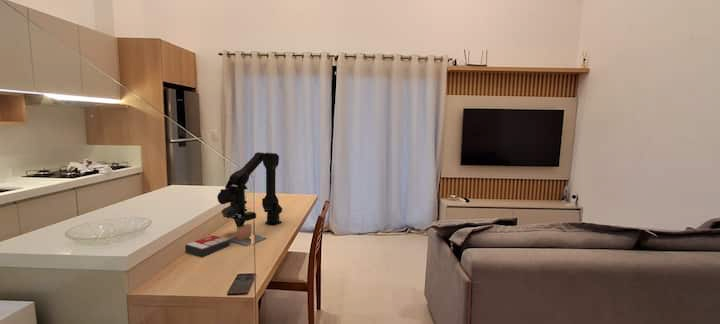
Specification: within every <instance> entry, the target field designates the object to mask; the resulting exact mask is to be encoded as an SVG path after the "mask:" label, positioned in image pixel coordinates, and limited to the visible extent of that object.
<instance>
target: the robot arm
mask: <svg viewBox="0 0 720 324" xmlns="http://www.w3.org/2000/svg"><path fill="white" fill-rule="evenodd" d="M279 162H280V156H279V154H278V153H276V152H275V153H274V152H261V151H260V152H255V153H254V155H253V157H251V158H250V160H249V161H247V162H246V163H245V165H244V166H243V167H242V168H241V169H238V170H236V171H235V172H233V173H231V174H230V176H229V179H228V181H227V183H226V184H225V187H224V188H222V189H220V191H219V193H218V194H217V197H216V198H217V201H218V203H219V204H220V205H226V204H228V203H229V206H227V207H225V208H223V209H222V210H221V214H222V217H223V218H227V219H232V220H233V221H234V222H235V225H236V228H237V227H239V226H242V225H245V224H246V222H247V221H250V220H255V219H257V213H256V212H253V211H248V209H247V208H246V204H247V203H248V201H247V200H245V199H246V196H245V195H246V194H245V192H246V190H248V189H249V188H248V187H247V186H246V184H247V183H248V182H249V179H250V176H251V174H252V173H253V172H254V171H255V170H256V169H257V168H258V167H259V165H260V164H261V163H263V166H264V167H265V187H266V188H265V193H266V194H265V196H264V198H262V199H261V200H262V201H261V202H262V203H261V207H262V208H263V211H264V213H266V221H265V222H264V223H265V224H267V225H271V226H275V225H278V224H280V223H282V221H281V220H280V214H282V212H283V207H282V206H281V205H280V203H279V198H278V196H277V195H276V177H277V175H276V169H277V167H278V166H279V164H280V163H279Z"/></svg>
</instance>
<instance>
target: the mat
mask: <svg viewBox="0 0 720 324" xmlns="http://www.w3.org/2000/svg"><path fill="white" fill-rule="evenodd" d="M254 234H255V233H254ZM266 239H267V237H265V236H262V235H258V234H255V244H257V243H260V242H262V241H265V240H266ZM228 240H230V242H232V243H235V244H237V245H240V246H245V247H246V246H247V247H249V246H251V245H250V244H251V239H250V238H249V237H247V238H244V239H242V240H238V239H237V236H235V237H232V238H230V239H229V238H228ZM248 245H249V246H248Z"/></svg>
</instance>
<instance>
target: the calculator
mask: <svg viewBox="0 0 720 324" xmlns="http://www.w3.org/2000/svg"><path fill="white" fill-rule="evenodd" d="M230 242H231V241H230V240H229V238H225V237H220V236H216V235H210V236H207V237H204V238H202V239H197V240H195V241H192V242H190V243H186V244H185V247H184V248H185V249H184V251H185V252H186V254H189V255H193V256H196V257H199V258H204V257H206V256H209V255H211V254H213V253H214V252H215V253H216V252H218V251H221V250H224V249H226V248H228V247H230V244H231V243H230ZM185 252H184V253H185Z"/></svg>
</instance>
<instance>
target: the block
mask: <svg viewBox="0 0 720 324" xmlns="http://www.w3.org/2000/svg"><path fill="white" fill-rule="evenodd" d="M251 233H252V224H251V223H245V224H244V225H242V226H239V227H237V226H236V237H237V239H238V240H242V239H244V238H247V237H250V236H251Z"/></svg>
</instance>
